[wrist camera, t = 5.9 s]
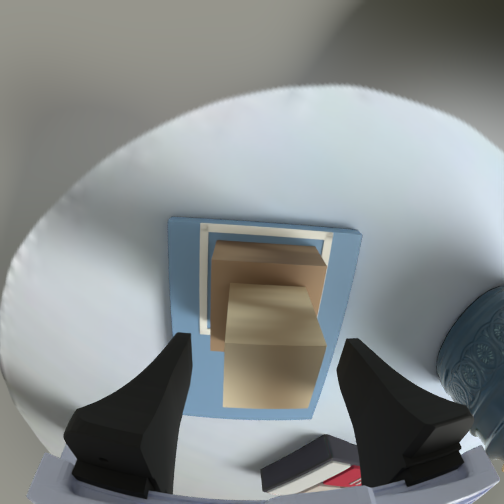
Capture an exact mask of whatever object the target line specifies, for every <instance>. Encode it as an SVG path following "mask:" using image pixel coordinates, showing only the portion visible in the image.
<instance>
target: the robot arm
mask: <svg viewBox="0 0 504 504" xmlns="http://www.w3.org/2000/svg"><path fill="white" fill-rule="evenodd" d="M192 368H193V362H192V342H191V333H183V332H177V333H176V334H175V335H174V337H173V338H172V339H171V341H170V342H169V343H168V345H167V346H166V347H165V348H164V349H163V351H162V352H161V353H160V354H159V355H158V356H157V357H156V358H155V359H154V361H153V362H152V363H151V364H150V365H148V366H147V367H146V368H145V369H144V370H143V371H142V372H141V373H140V374H139V375H138V376H137V377H135V378H134V379H133V380H132V381H130V382H129V383H127V384H126V385H125V386H123V387H122V388H120V389H119V390H117V391H116V392H114V393H112V394H111V395H109V396H107V397H105V398H103V399H101V400H99V401H97V402H95V403H92V404H90V405H87V406H84V407H82V408H79V409H77V410H76V411H75V413H74V414H73V416H72V418H71V419H70V421H69V424H68V426H67V428H66V430H65V432H64V440H65V442H66V445H65V447H64V450H63V452H62V455H61V458H59V457H56V456H54V455H51V454H49V453H44V455H43V457H42V460H41V462H40V464H39V467H38V469H37V471H36V474H35V476H34V478H33V481H32V483H31V486H30V488H29V491H28V493H27V498H28V499H29V500H30V501H31V502H33V503H34V504H472V503H473V502H474V501H476V500H477V499H478V498H480V496H482V495H483V494H485V493H486V492H487V491H488V490H490V489H491V488H492V487H493V486H494V485H496V484H497V483H498V482H499V481H500V478H499V476H498V475H497V472H496V471H495V469H494V467H493V465H492V463H491V461H490V459H489V457H488V455H487V454H486V452H485V450H484V448H483V446H482V445H480V446H478V447H476V448H473V449H471V450H469V451H467V452H465V453H463V454H462V455H460V453H459V450H460V449H461V445H460V443H459V442H460V441H461V440H462V438H463V437H464V436H465V435H466V434H467V432H468V431H469V430H470V428H471V427H472V425H473V423H474V417H473V415H472V414H471V412H470V410H469V409H468V407H467V406H466V405H462V404H459V403H455V402H452V401H449V400H446V399H444V398H441V397H439V396H436V395H434V394H432V393H430V392H428V391H426V390H424V389H422V388H420V387H419V386H417V385H415V384H414V383H412V382H411V381H409V380H407V379H406V378H404V377H403V376H402V375H400V374H399V373H398V372H396V371H395V370H394V369H393V368H391V367H390V366H389V365H388V364H386V363H385V362H384V361H383V360H382V359H381V358H380V357H378V356H377V355H376V354H375V353H374V352H373V351H372V350H371V349H370V348H369V347H367V346H366V345H365V344H364V343H363V342H362V341H361V340H359V339H358V338H351V339H346V341H345V345H344V348H343V351H342V354H341V357H340V361H339V364H338V367H337V376H338V381H339V386H340V390H341V393H342V396H343V398H344V401H345V404H346V407H347V410H348V413H349V416H350V419H351V422H352V425H353V428H354V433H355V438H356V443H357V449H358V455H359V463H360V472H361V486H353V487H347V488H341V489H334V490H327V491H319V492H309V493H297V494H289V495H282V496H278V497H275V498H272V499H269V500H258V501H250V500H221V499H207V498H196V497H188V496H180V495H173V480H174V468H175V458H176V449H177V441H178V433H179V427H180V422H181V418H182V414H183V411H184V407H185V403H186V399H187V395H188V391H189V388H190V383H191V376H192Z"/></svg>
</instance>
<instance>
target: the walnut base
mask: <svg viewBox="0 0 504 504" xmlns="http://www.w3.org/2000/svg"><path fill="white" fill-rule="evenodd" d="M326 271H327V265H326V264H325V262H324V260H323V259H322V257H321V255H320V254H319V252H318V250H317V249H316V247H315V246H302V245H287V244H272V243H257V242H242V241H226V240H217V241H216V244H215V248H214V252H213V256H212V260H211V313H210V351H219V352H224V351H225V334H226V323H227V312H228V301H229V290H230V283H242V284H258V285H276V286H296V287H306V290H307V292H308V295H309V298H310V300H311V303H312V306H313V308H314V311H315V314H316V317H317V315H318V310H319V305H320V301H321V296H322V291H323V286H324V281H325V276H326Z"/></svg>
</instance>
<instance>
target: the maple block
mask: <svg viewBox="0 0 504 504" xmlns="http://www.w3.org/2000/svg"><path fill="white" fill-rule="evenodd" d="M326 347H327V344H326V341H325V339H324V336H323V333H322V330H321V328H320V325H319V322H318V319H317V317H316V314H315V311H314V308H313V306H312V303H311V300H310V298H309V295H308V292H307V290H306V287H296V286H276V285H258V284H242V283H230V290H229V301H228V312H227V323H226V334H225V351H224V382H223V407H228V408H250V409H303V408H308V406H309V403H310V400H311V397H312V394H313V391H314V388H315V385H316V381H317V378H318V375H319V372H320V368H321V365H322V361H323V358H324V354H325V351H326Z"/></svg>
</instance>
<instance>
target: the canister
mask: <svg viewBox="0 0 504 504" xmlns="http://www.w3.org/2000/svg"><path fill="white" fill-rule="evenodd" d="M437 373H438V375H439V377H440V382H441V385H442V386H443V388H444V389H445V391H446V393H447V394H448V395H450V396H451V398H452V399H453V401H454V402H455V403H459V404H462V405H466V406H467V407H468V409H469V410H470V412H471V414H472V415H473V417H474V423H473V425H472V427H471V428H470V430H469V431H470V433H471V435H473V436H476V437H479V438H480V439H481V441H482V442H483V444H484V445H485V452H486V454H487V455H488V457H489V459H490V460H496V459H500V460H501V461H503V462H504V286H500V287H497V288H494V289H492V290H490V291H488V292H487V293H485V294H484V295H482V296H481V297H480V298H478V299H477V300H476V301H475V302H474V303H473V304H472V305H471V306H470V307H469V308H468V309H467V310H466V311H465V312H464V313H463V314H462V315H461V316H460V318H459V319H458V320H457V322H456V323H455V324H454V326H453V327H452V329H451V330H450V332H449V334H448V335H447V337H446V339H445V341H444V343H443V345H442V347H441V350H440V352H439V356H438V360H437ZM502 471H503V472H504V465H503V466H502Z"/></svg>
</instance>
